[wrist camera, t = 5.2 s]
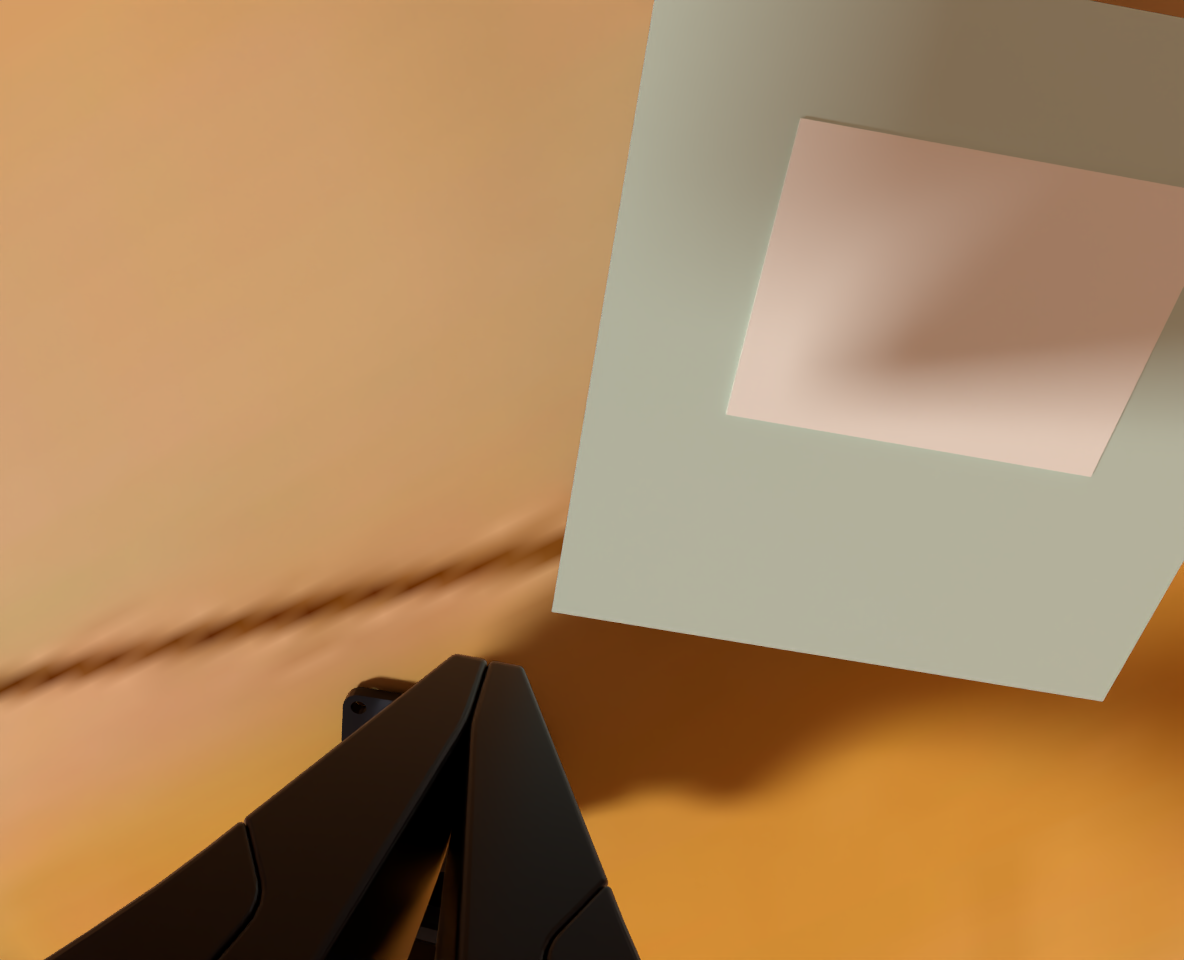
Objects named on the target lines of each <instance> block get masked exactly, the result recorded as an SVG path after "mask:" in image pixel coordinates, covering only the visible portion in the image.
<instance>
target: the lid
mask: <svg viewBox="0 0 1184 960" xmlns="http://www.w3.org/2000/svg"><path fill="white" fill-rule="evenodd" d="M1183 561H1184V18H1181V17H1176V16H1170V15H1165V14H1160V13H1154V12H1149V11H1144V10H1138V9H1133V8H1128V7H1123V6H1117V5H1112V4H1107V3H1101V2H1096V1H1091V0H654V5H653V11H652V17H651V23H650V29H649V35H648V41H647V47H646V53H645V59H644V65H643V71H642V77H641V83H640V89H639V95H638V101H637V106H636V112H635V118H634V124H633V130H632V136H631V142H630V148H629V154H628V160H627V166H626V172H625V178H624V184H623V190H622V196H621V202H620V208H619V214H618V220H617V225H616V231H615V237H614V243H613V249H612V255H611V261H610V267H609V273H608V279H607V285H606V291H605V297H604V303H603V309H602V315H601V321H600V327H599V333H598V339H597V344H596V350H595V356H594V362H593V368H592V374H591V380H590V386H589V392H588V398H587V404H586V410H585V416H584V422H583V428H582V434H581V440H580V446H579V452H578V458H577V463H576V469H575V475H574V481H573V487H572V493H571V499H570V505H569V511H568V517H567V523H566V529H565V535H564V541H563V547H562V553H561V559H560V565H559V571H558V576H557V582H556V588H555V594H554V600H553V606H552V612H556V613H562V614H568V615H574V616H580V617H586V618H593V619H599V620H605V621H611V622H617V623H623V624H629V625H636V626H642V627H648V628H654V629H660V630H666V631H672V632H679V633H685V634H691V635H697V636H703V637H709V638H715V639H721V640H728V641H734V642H740V643H746V644H752V645H758V646H764V647H771V648H777V649H783V650H789V651H795V652H801V653H807V654H814V655H820V656H826V657H832V658H838V659H844V660H850V661H857V662H863V663H869V664H875V665H881V666H887V667H893V668H899V669H906V670H912V671H918V672H924V673H930V674H936V675H942V676H949V677H955V678H961V679H967V680H973V681H979V682H985V683H992V684H998V685H1004V686H1010V687H1016V688H1022V689H1028V690H1034V691H1041V692H1047V693H1053V694H1059V695H1065V696H1071V697H1077V698H1084V699H1090V700H1096V701H1102V702H1103V700H1104V699H1105V697H1106V695H1107V693H1108V692H1109V690H1110V688H1111V686H1112V685H1113V683H1114V681H1115V679H1116V678H1117V676H1118V674H1119V672H1120V671H1121V669H1122V667H1123V666H1124V664H1125V662H1126V660H1127V659H1128V657H1129V655H1130V653H1131V652H1132V650H1133V648H1134V646H1135V645H1136V643H1137V641H1138V639H1139V638H1140V636H1141V634H1142V632H1143V631H1144V629H1145V627H1146V625H1147V624H1148V622H1149V620H1150V618H1151V617H1152V615H1153V613H1154V611H1155V610H1156V608H1157V606H1158V605H1159V603H1160V601H1161V599H1162V598H1163V596H1164V594H1165V592H1166V591H1167V589H1168V587H1169V585H1170V584H1171V582H1172V580H1173V578H1174V577H1175V575H1176V573H1177V571H1178V570H1179V568H1180V566H1181V564H1182V563H1183Z"/></svg>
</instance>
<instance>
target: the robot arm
mask: <svg viewBox="0 0 1184 960" xmlns="http://www.w3.org/2000/svg"><path fill="white" fill-rule="evenodd" d="M356 701H359V702H362V703H363V704H364V705H365V706H361V705H359V704H357V703H356ZM607 885H608V880H607V878H606V875H605V873H604V870H603V868H602V865H601V863H600V860H599V858H598V855H597V852H596V850H595V847H594V845H593V842H592V840H591V837H590V835H589V832H588V830H587V827H586V825H585V822H584V819H583V817H582V814H581V812H580V809H579V807H578V804H577V802H576V799H575V797H574V794H573V792H572V789H571V787H570V784H569V782H568V779H567V776H566V774H565V771H564V769H563V766H562V764H561V761H560V759H559V756H558V754H557V751H556V749H555V746H554V743H553V741H552V738H551V736H550V733H549V731H548V728H547V726H546V723H545V721H544V718H543V716H542V713H541V711H540V708H539V705H538V703H537V700H536V698H535V695H534V693H533V690H532V688H531V685H530V683H529V680H528V678H527V675H526V673H525V670H524V669H523V668H522V667H521V666H519V665H514V664H509V663H503V662H498V661H492V662H490V663H489V664H488V666H487V662H486V661H485V660H484V659H482V658H476V657H471V656H466V655H460V654H455V655H452V656H451V657H449V658H448V659H447V660H445V661H444V662H443V663H442V664H440V665H439V666H438V667H437V668H435V669H434V670H433V671H431V672H430V673H429V674H428V675H426V676H425V677H424V678H423V679H421V680H420V681H419V682H417V683H416V684H415V685H414V686H412V687H411V688H410V689H408V690H407V691H406V692H405V693H403V694H402V693H395V692H389V691H383V690H377V689H370V688H364V687H357V688H354V689H352V690H351V691H350V692H349V693H348V695H347V697H346V699H345V701H344V704H343V719H342V742H341V743H340V744H338V745H337V746H336V747H335V748H333V749H332V750H331V751H330V752H328V753H327V754H326V755H324V756H323V757H322V758H321V759H319V760H318V761H317V762H316V763H314V764H313V765H312V766H310V767H309V768H308V769H307V770H305V771H304V772H303V773H301V774H300V775H299V776H298V777H296V778H295V779H294V780H293V781H291V782H290V783H289V784H287V785H286V786H285V787H284V788H282V789H281V790H280V791H279V792H277V793H276V794H275V795H273V796H272V797H271V798H270V799H268V800H267V801H266V802H265V803H263V804H262V805H261V806H259V807H258V808H257V809H256V810H254V811H253V812H252V813H251V814H249V815H248V816H247V817H246V818H245V820H244V823H243V822H239V823H237V824H236V825H235V826H233V827H232V828H231V829H230V830H228V831H227V832H226V833H225V834H223V835H222V836H221V837H219V838H218V839H217V840H216V841H214V842H213V843H212V844H211V845H209V846H208V847H207V848H205V849H204V850H203V851H201V852H200V853H199V854H197V855H196V856H195V857H193V858H192V859H191V860H189V861H188V862H186V863H185V864H184V865H182V866H181V867H180V868H178V869H177V870H176V871H174V872H173V873H172V874H170V875H169V876H168V877H166V878H165V879H164V880H162V881H161V882H160V883H158V884H157V885H156V886H154V887H153V888H151V889H150V890H148V891H147V892H145V893H144V894H142V895H141V896H139V897H138V898H136V899H135V900H133V901H132V902H131V903H129V904H128V905H126V906H125V907H123V908H122V909H120V910H119V911H117V912H116V913H114V914H113V915H111V916H110V917H108V918H107V919H105V920H104V921H102V922H101V923H99V924H98V925H97V926H95V927H94V928H92V929H91V930H89V931H88V932H86V933H84V934H83V935H81V936H80V937H78V938H77V939H75V940H74V941H72V942H71V943H69V944H68V945H66V946H64V947H63V948H61V949H60V950H58V951H57V952H55V953H54V954H52V955H51V956H49V957H47V958H46V959H44V960H641V959H640V957H639V955H638V952H637V950H636V948H635V945H634V943H633V941H632V939H631V936H630V934H629V932H628V929H627V927H626V925H625V922H624V920H623V917H622V915H621V912H620V910H619V907H618V905H617V902H616V900H615V897H614V895H613V892H612V890H611V888H610V887H608V886H607Z"/></svg>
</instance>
